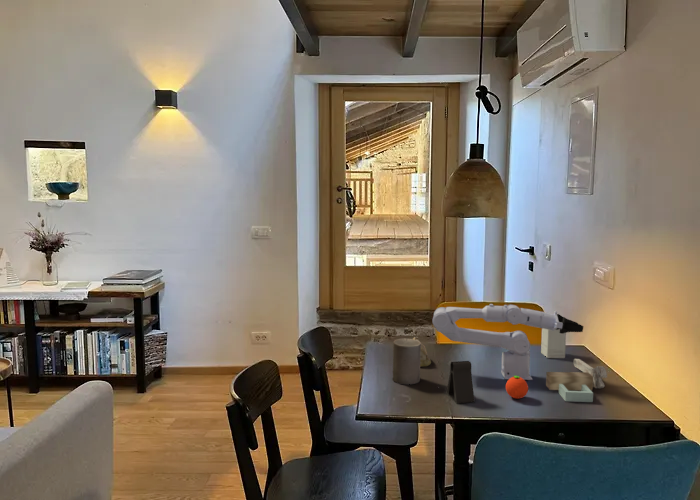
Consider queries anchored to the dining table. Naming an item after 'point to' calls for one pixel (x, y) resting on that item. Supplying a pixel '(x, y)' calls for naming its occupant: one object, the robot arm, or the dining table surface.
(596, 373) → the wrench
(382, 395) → the dining table surface
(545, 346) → the supplement box
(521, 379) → the clementine
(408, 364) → the pillar candle
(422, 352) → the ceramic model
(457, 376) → the phone stand
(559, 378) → the tan rectangular block
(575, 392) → the bracket
